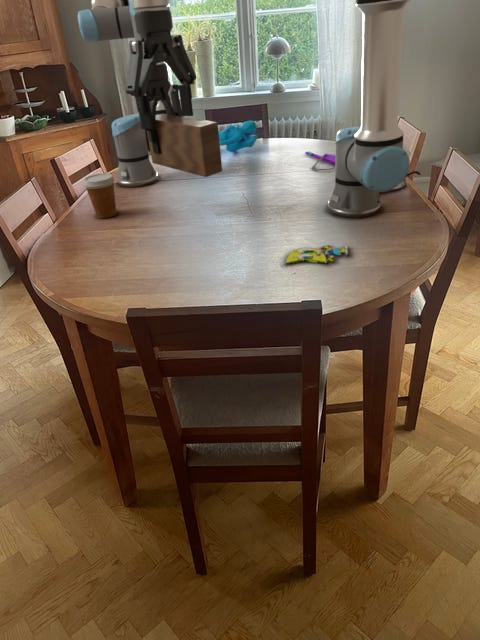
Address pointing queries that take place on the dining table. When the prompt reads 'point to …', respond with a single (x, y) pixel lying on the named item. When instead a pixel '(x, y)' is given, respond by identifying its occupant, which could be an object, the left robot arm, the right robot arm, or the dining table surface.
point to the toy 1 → (238, 136)
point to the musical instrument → (325, 157)
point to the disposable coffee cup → (101, 194)
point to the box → (187, 145)
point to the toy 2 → (315, 255)
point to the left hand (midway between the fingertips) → (166, 150)
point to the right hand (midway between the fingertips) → (168, 121)
